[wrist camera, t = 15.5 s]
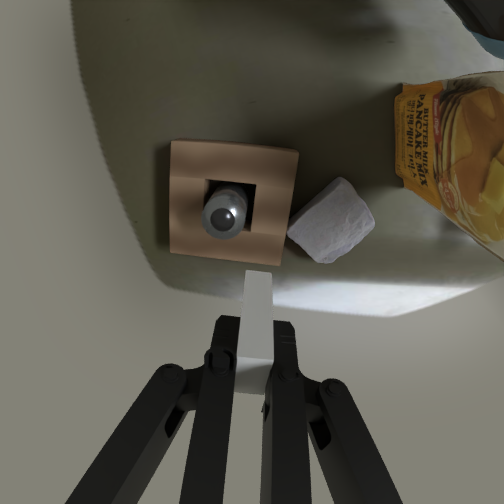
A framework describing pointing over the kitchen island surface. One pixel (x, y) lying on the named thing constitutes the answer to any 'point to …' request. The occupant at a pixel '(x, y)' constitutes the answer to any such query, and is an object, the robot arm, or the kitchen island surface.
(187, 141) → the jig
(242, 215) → the cylinder
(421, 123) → the pancake mix bag
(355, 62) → the kitchen island surface
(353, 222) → the stone block
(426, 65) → the kitchen island surface
